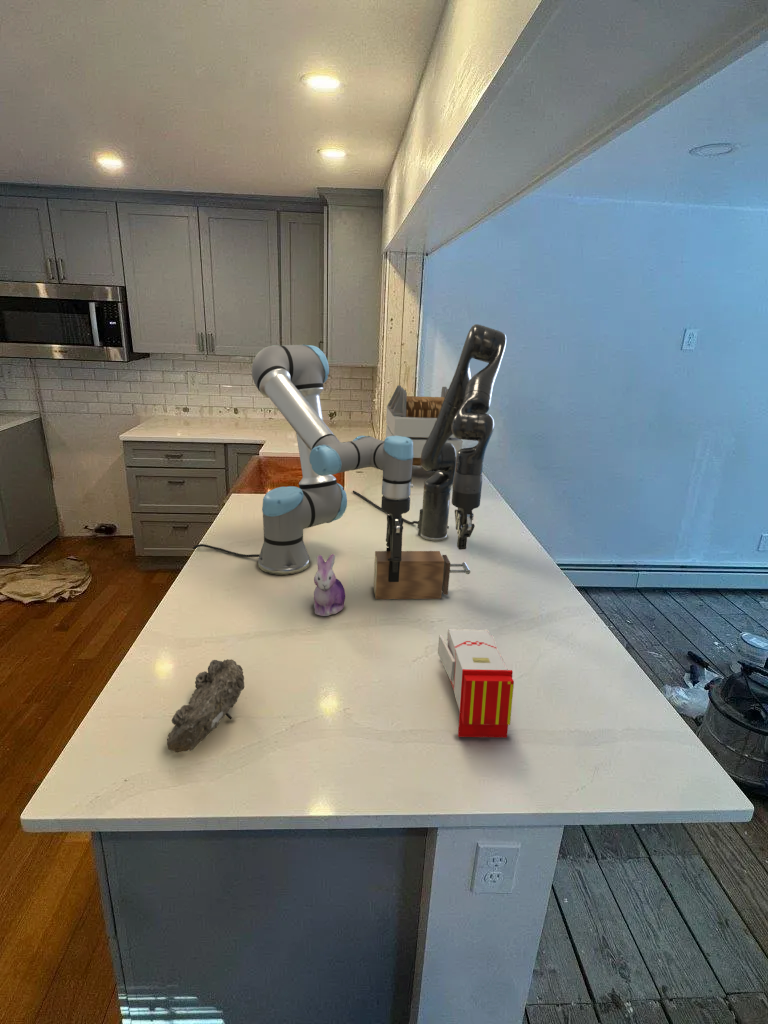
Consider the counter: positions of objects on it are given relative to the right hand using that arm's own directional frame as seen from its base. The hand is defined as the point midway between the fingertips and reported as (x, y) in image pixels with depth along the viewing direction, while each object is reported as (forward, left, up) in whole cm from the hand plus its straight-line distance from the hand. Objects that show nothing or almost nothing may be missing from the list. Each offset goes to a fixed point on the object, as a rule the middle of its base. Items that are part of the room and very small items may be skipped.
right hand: (461, 548), depth 155 cm
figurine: (-22, -30, -14) cm, 39 cm away
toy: (+23, -37, -14) cm, 46 cm away
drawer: (-7, -6, -13) cm, 16 cm away
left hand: (-14, -12, -8) cm, 20 cm away
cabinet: (-11, -9, -14) cm, 20 cm away
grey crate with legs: (-74, +98, -14) cm, 123 cm away
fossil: (-12, -75, -14) cm, 78 cm away
